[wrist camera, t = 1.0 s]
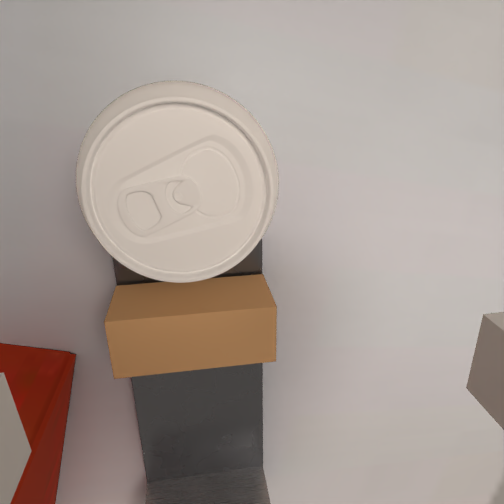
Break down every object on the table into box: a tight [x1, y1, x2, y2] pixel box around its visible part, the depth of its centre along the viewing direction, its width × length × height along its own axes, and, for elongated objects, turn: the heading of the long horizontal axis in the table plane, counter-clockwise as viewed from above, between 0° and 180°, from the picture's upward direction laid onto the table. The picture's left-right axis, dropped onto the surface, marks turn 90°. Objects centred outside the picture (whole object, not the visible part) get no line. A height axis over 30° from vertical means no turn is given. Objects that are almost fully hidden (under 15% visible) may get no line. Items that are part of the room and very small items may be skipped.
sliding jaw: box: [104, 274, 277, 379], centre depth 27 cm, size 4×10×5 cm, turn 91°
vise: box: [113, 238, 271, 504], centre depth 31 cm, size 26×10×6 cm, turn 1°
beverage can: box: [76, 81, 279, 283], centre depth 21 cm, size 8×8×12 cm
